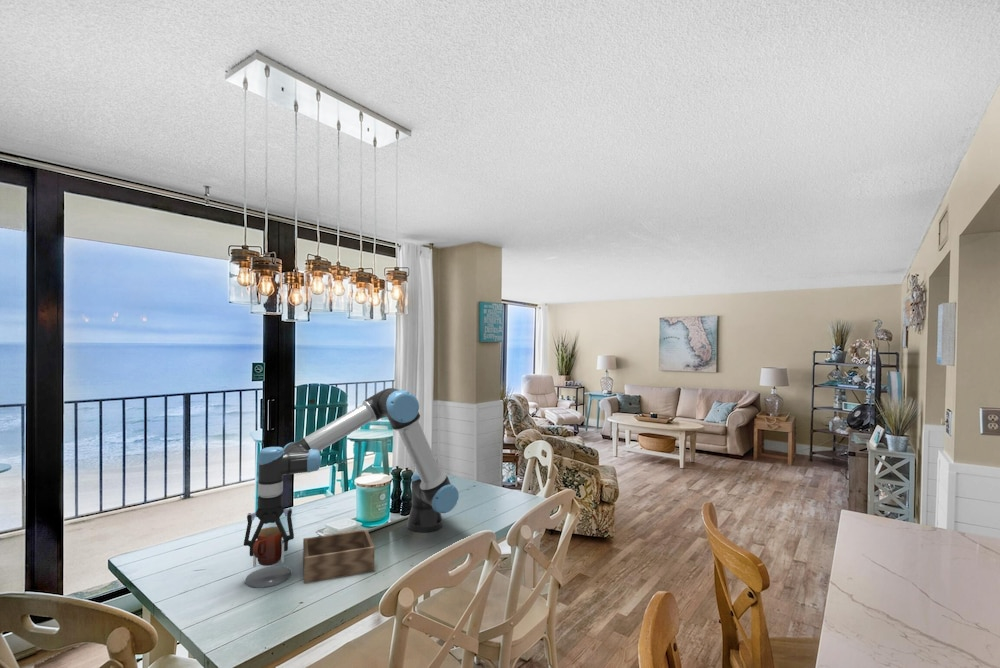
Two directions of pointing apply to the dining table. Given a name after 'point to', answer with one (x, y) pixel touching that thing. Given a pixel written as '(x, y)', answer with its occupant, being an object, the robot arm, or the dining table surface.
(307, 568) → the box
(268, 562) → the mug
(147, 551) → the dining table surface
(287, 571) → the coaster
